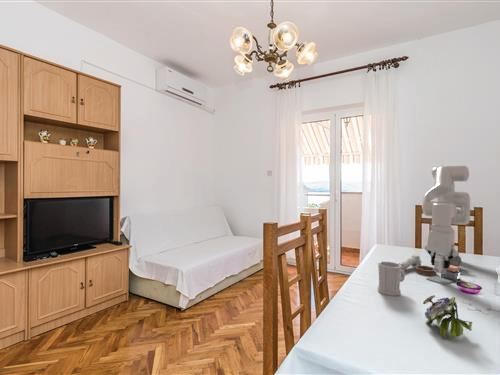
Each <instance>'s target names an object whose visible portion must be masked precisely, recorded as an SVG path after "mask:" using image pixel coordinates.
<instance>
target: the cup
mask: <svg viewBox="0 0 500 375" xmlns="http://www.w3.org/2000/svg"><path fill="white" fill-rule="evenodd" d="M377 264H378V265H377V266H378V285H377V291H378V292H379V293H381V294H383V295H386V296H389V297H395V296H396V297H397V296H400V295H401V292H402V291H401V288H400V286H401V285H400V284H401V283H402V282H404V280H405V277H406V272H405V271H403V270H401V265H399V263H397V262H391V261H379V262H378V263H377Z"/></svg>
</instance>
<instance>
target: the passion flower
mask: <svg viewBox="0 0 500 375" xmlns="http://www.w3.org/2000/svg"><path fill="white" fill-rule="evenodd" d="M435 297H436V295H430V296H429V297H427V298H426V299H425V300H424V301H423V302H422V304H423V305H426V304H428V303H431V304H430V306H429V307H427V308H426V312H424V316H425V318H426V321H425V325H428V326H429V325H430V326H431V325H432V324H433V322H434V321H435V320H436V325H438V326H439V334H440V336H441V338H443V339H444V340H446V336H447V334H448V333H449V336H450V339H451V340H452V339H455V338H456V337H458V338H459V337H460V336H462V335H464V328H465V329H467V330H468V331H472V325H473V322H472V321H468V320H463V319H460V318H459V314H458V313H459V312H458V305H457V302H456V297H455V296H452V297H451V298H449V297H443V298H440V299H439V298H438V299H437V301H435V302H433V299H434V298H435ZM446 316H447V317H446ZM449 326H450V329H449Z"/></svg>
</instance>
